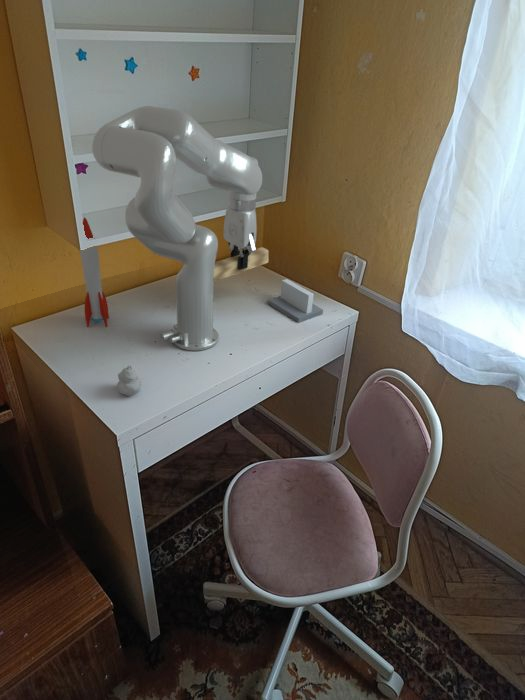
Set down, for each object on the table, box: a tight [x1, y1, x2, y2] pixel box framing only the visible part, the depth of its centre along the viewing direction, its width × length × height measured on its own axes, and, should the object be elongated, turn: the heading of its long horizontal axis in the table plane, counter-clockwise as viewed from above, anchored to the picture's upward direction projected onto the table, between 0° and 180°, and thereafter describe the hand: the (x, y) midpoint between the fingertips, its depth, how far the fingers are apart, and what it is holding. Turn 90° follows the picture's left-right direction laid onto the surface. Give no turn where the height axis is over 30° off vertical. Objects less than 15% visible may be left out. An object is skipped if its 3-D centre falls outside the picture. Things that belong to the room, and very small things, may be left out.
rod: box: [213, 247, 270, 283], centre depth 147 cm, size 20×3×4 cm, turn 129°
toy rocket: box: [79, 217, 110, 328], centre depth 132 cm, size 6×6×30 cm
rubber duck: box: [116, 364, 142, 397], centre depth 113 cm, size 5×7×8 cm
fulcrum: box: [267, 278, 324, 324], centre depth 152 cm, size 10×14×8 cm
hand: (238, 265), depth 147 cm, fingers closed on rod, 3 cm apart
